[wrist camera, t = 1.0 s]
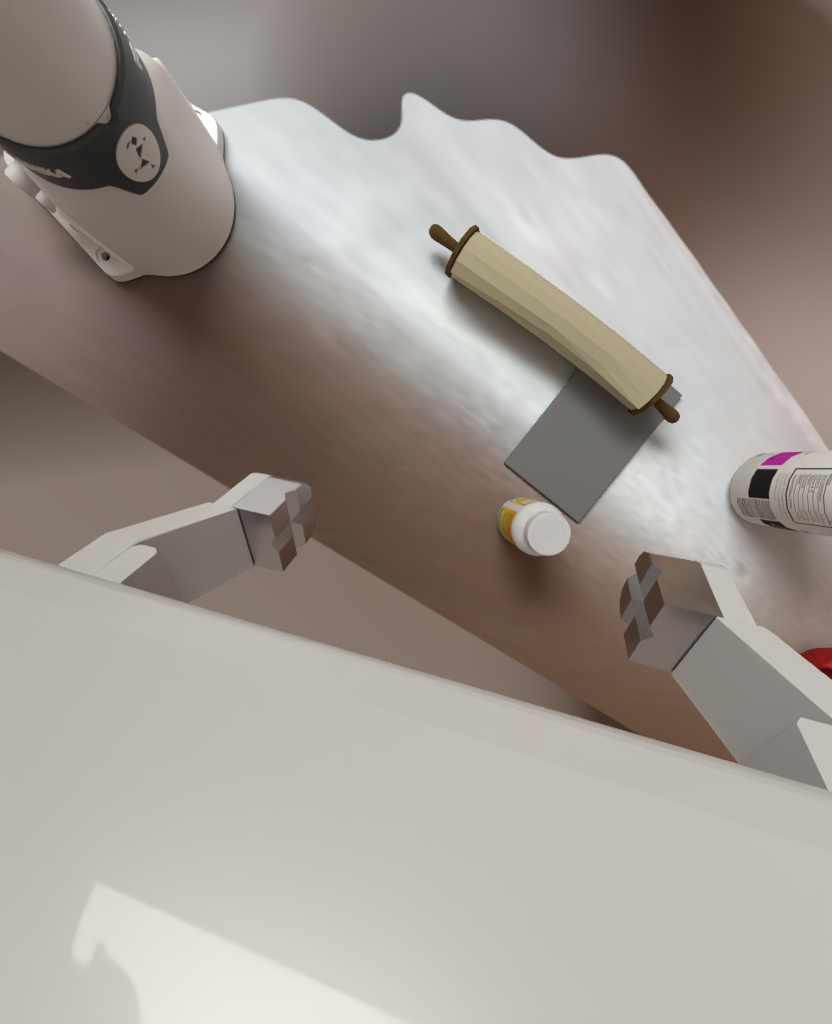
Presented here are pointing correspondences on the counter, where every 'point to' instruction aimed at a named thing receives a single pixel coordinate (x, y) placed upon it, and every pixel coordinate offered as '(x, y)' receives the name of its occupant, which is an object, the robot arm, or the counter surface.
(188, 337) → the counter surface
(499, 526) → the supplement bottle
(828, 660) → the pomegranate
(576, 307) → the rolling pin
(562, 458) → the mat
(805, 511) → the supplement can
